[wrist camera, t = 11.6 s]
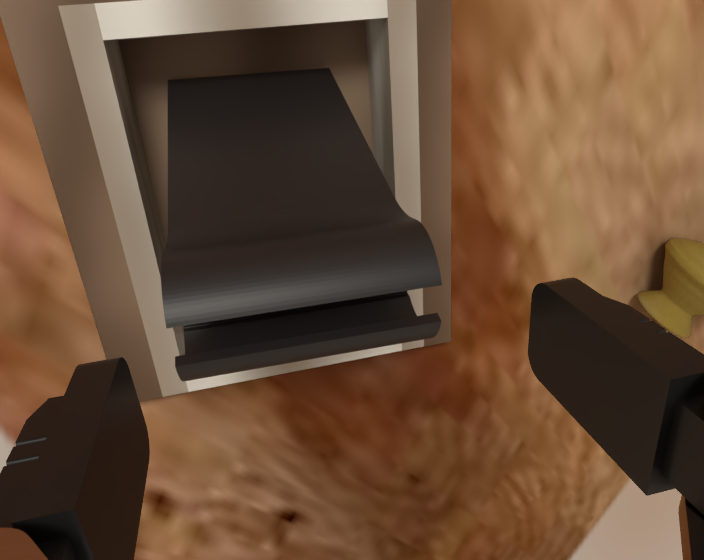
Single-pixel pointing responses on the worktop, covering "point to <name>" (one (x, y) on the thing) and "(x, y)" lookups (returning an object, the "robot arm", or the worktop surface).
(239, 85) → the phone stand
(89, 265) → the collar stand
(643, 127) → the worktop surface
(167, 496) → the worktop surface
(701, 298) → the knob
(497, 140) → the worktop surface
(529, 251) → the worktop surface
